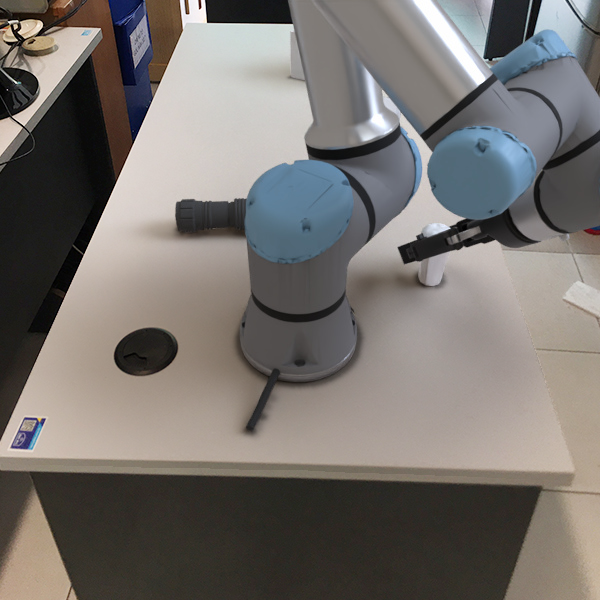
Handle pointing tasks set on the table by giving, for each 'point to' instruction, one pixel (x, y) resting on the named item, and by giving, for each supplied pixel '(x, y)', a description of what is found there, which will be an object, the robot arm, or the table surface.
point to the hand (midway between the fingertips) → (419, 248)
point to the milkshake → (433, 258)
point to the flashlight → (209, 214)
